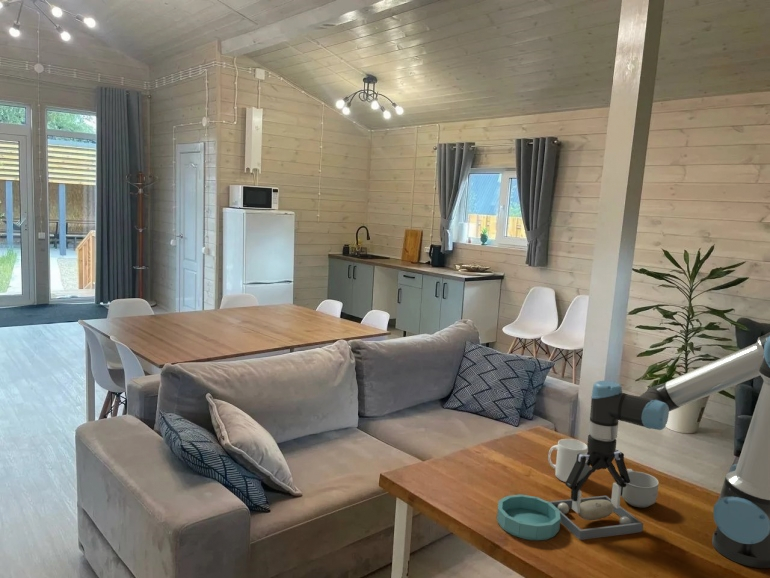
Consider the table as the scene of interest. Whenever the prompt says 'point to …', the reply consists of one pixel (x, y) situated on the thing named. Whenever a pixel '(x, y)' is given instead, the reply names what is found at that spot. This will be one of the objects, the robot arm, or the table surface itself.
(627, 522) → the pebble
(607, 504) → the stone
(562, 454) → the mug
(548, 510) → the bowl
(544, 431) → the table surface
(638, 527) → the tray
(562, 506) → the white round ball
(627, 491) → the teacup
